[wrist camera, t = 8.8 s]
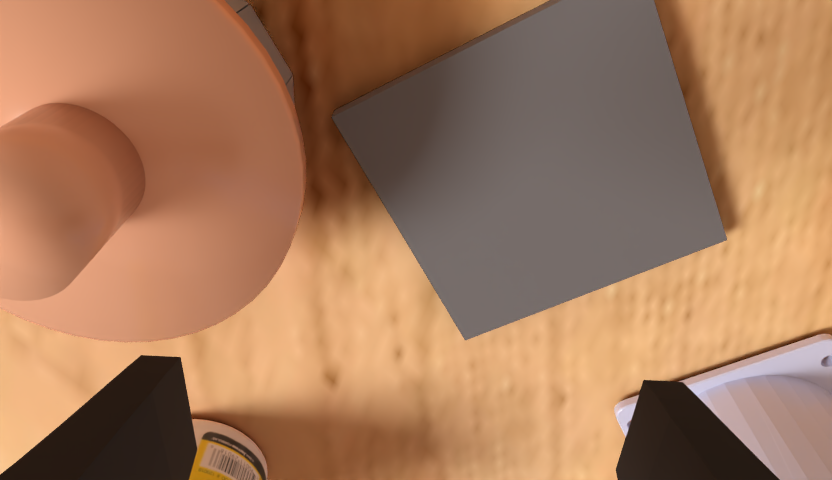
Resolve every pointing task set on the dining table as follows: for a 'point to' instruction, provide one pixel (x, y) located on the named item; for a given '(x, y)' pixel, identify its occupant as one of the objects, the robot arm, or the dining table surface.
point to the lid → (141, 166)
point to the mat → (539, 160)
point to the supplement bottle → (225, 454)
